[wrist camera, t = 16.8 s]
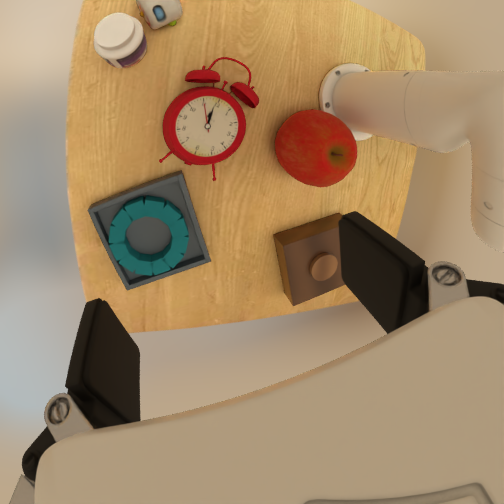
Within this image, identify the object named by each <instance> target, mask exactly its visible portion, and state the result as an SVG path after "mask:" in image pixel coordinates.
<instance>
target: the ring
mask: <svg viewBox="0 0 504 504" xmlns="http://www.w3.org/2000/svg"><path fill="white" fill-rule="evenodd" d="M145 216H146V217H153V218H159V219H160V220H161V221H162V222H164V223H165V224H166V225H167V226H168V227H169V229H170V232H171V240H170V243H169V244H168V245H167V246H166V247H165V248H164V250H163V251H161V252H158V253H155V254H152V255H150V254H143V253H139V252H138V251H136V250H135V249H133V248H132V247H131V246H130V244H129V242H128V239H127V237H126V231H127V228H128V227H129V226H130V224H131V223H132V222H133V221H134V220H137V219H140V218H142V217H145ZM188 241H189V232H188V228H187V225H186V222H185V219H184V216H183V213H181V211H180V209H178V208H177V207H176V206H175V205H174V204H172V203H171V202H170V201H169V200H166V201H165V202H164V198H162V197H156V196H150V195H146V199H145V198H144V196H140V197H138V198H135V199H132V200H130V201H127V202H126V205H125V204H123V206H122V207H121V208H120V209H119V211H118V212H117V213H116V215H115V216H114V218H113V220H112V222H111V225H110V231H109V243H110V244H109V247H110V249H111V251H112V253H113V255H114V257H115V259H116V261H118V260H119V264H121V265H122V266H123V267H125V268H126V269H128V270H129V271H131V272H133V271H134V270H135V274H142V275H149V276H152V272H153V273H154V275H157V274H160V273H163V272H166V271H169V270H171V268H170V267H172V268H174V267H175V266H176V265H177V264H178V262H179V261H180V260H181V259H182V258H183V257H184V254H185V253H186V250H187V245H188Z"/></svg>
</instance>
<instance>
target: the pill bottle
mask: <svg viewBox="0 0 504 504" xmlns="http://www.w3.org/2000/svg"><path fill="white" fill-rule="evenodd" d="M94 48H95V50H96V52H97V53H98V54H99V55H100V56H101V57H102V58H103V59H104V60H106V61H107V62H108V63H109V64H110V65H112V66H114V67H117V68H128V67H131V66H133V65H135V64H137V63H138V62H139V61H140V60H141V59H142V58H143V57H144V55H145V53H146V50H147V41H146V38H145V34H144V31H143V27H142V25H141V23H140V22H139V21H138V20H137V19H136V18H134V17H132V16H129V15H128V14H125V13H113V14H110V15H108V16H106V17H105V18H103V19H102V20H101V21H100V22H99V23H98V25H97V26H96V28H95V32H94Z"/></svg>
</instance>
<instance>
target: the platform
mask: <svg viewBox="0 0 504 504" xmlns="http://www.w3.org/2000/svg"><path fill="white" fill-rule="evenodd" d="M342 216H343V215H341V214H340V213H337V214H334V215H331V216H328V217H325V218H322V219H319V220H316V221H313V222H310V223H307V224H304V225H301V226H298V227H295V228H292V229H289V230H286V231H283V232H280V233H277V234H274V240H275V245H276V251H277V256H278V261H279V266H280V272H281V277H282V282H283V288H284V293H285V294H286V296H287V297H288V299H289V300H290V302H291V304H292V305H293V306H295V305H297V304H300V303H302V302H305V301H307V300H310V299H312V298H314V297H317V296H319V295H322V294H324V293H327V292H329V291H331V290H334V289H336V288H338V287H341V286H343V285H345V283H344V282H343V280H342V276H341V258H340V241H339V227H338V222H339V220H341V217H342Z"/></svg>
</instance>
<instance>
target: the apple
mask: <svg viewBox="0 0 504 504" xmlns="http://www.w3.org/2000/svg"><path fill="white" fill-rule="evenodd" d="M275 151H276V155H277V158H278V161H279V163H280V164H281V166H282V167H283V168H284V169H285V170H286V172H287V173H289V174H290V175H291V176H292V177H294V178H295V179H297V180H298V181H300V182H302V183H304V184H307V185H312V186H317V187H327V186H331V185H333V184H335V183H337V182H339V181H341V180H342V179H343V178H344V177H345V176H346V175H347V174H348V173H349V172H350V171H351V170H352V169H353V167H354V166H355V163H356V159H357V145H356V140H355V138H354V136H353V134H352V132H351V130H350V129H349V128H348V127H347V125H346V124H345V123H344V122H343V121H341V120H340V119H339V118H337V117H336V116H334V115H333V114H330V113H328V112H324V111H321V110H314V109H311V110H304V111H299V112H297V113H295V114H293V115H291V116H290V117H289V118H288V119H287V120H286V121H285V122H284V123H283V124H282V126H281V127H280V129H279V131H278V132H277V135H276V139H275Z"/></svg>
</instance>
